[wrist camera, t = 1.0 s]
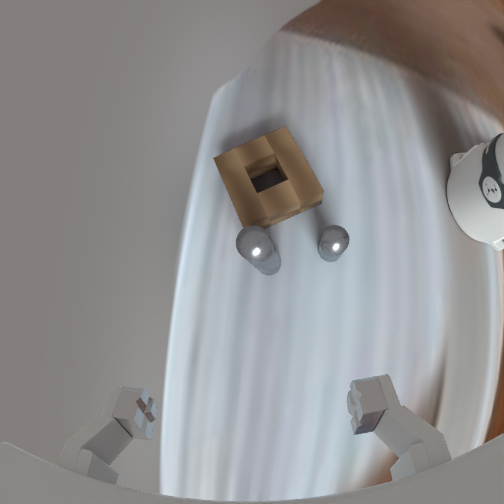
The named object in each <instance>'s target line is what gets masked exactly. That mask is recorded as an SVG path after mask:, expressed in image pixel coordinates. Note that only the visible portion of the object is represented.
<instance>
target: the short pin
mask: <svg viewBox="0 0 504 504" xmlns="http://www.w3.org/2000/svg"><path fill="white" fill-rule="evenodd" d="M348 244H349V235H348V233H347V231H346V230H345V229H344V228H342V227H340V226H337V225H333V226H329V227H328V228H326V229H325V230H324V232H323V234H322V237H321V241H320V245H319V254H320V256H321V258H322V259H323V260H325V261H328V262H333V261H336V260H337V259H339V258H340V256H341V255H342V253H343V252H344V251H345V249H346V248H347V246H348Z"/></svg>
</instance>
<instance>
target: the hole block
mask: <svg viewBox="0 0 504 504" xmlns="http://www.w3.org/2000/svg"><path fill="white" fill-rule="evenodd" d="M213 159H214V161H215V163H216V165H217V168H218V170H219V172H220V175H221V177H222V179H223V182H224V184H225V186H226V189H227V191H228V193H229V196H230V198H231V200H232V202H233V205H234V207H235V209H236V212H237V214H238V216H239V219H240V221H241V223H242V226H243V228H245V227H248V226H252V225H256V226H260V227H262V228H264V229H266V228H268V227H270V226H272V225H274V224H277V223H279V222H281V221H283V220H285V219H288V218H290V217H292V216H294V215H297V214H299V213H301V212H303V211H306V210H308V209H310V208H312V207H314V206H317V205H319V204H321V203H322V197H323V189H322V187H321V185H320V184H319V182H318V180H317V178H316V176H315V175H314V173H313V171H312V169H311V168H310V166H309V164H308V162H307V161H306V159H305V157H304V156H303V154H302V152H301V151H300V149H299V147H298V146H297V144H296V142H295V141H294V139H293V137H292V136H291V134H290V132H289V131H288V129H287V128H286V126H285V127H283V128H280V129H278V130H275V131H273V132H271V133H268V134H266V135H263V136H261V137H259V138H256V139H254V140H252V141H250V142H247V143H245V144H243V145H241V146H238V147H236V148H234V149H232V150H230V151H227V152H225V153H223V154H221V155H219V156H217V157H215V158H213ZM277 168H278V170H279V172H280V174H281V176H282V178H283V180H284V182H282V183H279V184H277V185H275V186H272V187H270V188H268V189H266V190H264V191H261V192H259V193H257V192H256V190H255V188H254V186H253V184H252V182H251V180H252V179H254V178H256V177H259V176H261V175H263V174H265V173H268V172H270V171H272V170H274V169H277Z"/></svg>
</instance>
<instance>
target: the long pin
mask: <svg viewBox="0 0 504 504" xmlns="http://www.w3.org/2000/svg"><path fill="white" fill-rule="evenodd" d="M236 247H237V250H238V252H239V253H240V254H241V255H242V256H243V257H244V258H245V259H246V260H247V261H249V262H250V263H251V264H252V265H253V266H254V267H256V268H257V269H258V270H259V271H260V272H262V273H263V274H266V275H272V274H274V273H276V272H277V271H278V270H279V268H280V266H281V260H280V257H279V255H278V253H277V251H276V249H275V247H274V245H273V242H272V240H271V238H270V236H269V234H268V232H267V231H266V230H265V229H264V228H262V227H260V226H256V225H252V226H248V227H245V228H244V229H242V230H241V231H240V233H239V234H238V236H237V239H236Z"/></svg>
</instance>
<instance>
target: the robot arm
mask: <svg viewBox="0 0 504 504" xmlns="http://www.w3.org/2000/svg"><path fill="white" fill-rule="evenodd" d="M450 167H451V173H450V176H449V179H448V183H447V198H448V203H449V206H450V209H451V212H452V214H453V216H454V218H455V220H456V222H457V223H458V225H459V226H460V227H461V229H462V230H463V231H464V232H465V233H466V234H467V235H469V236H470V237H471V238H473V239H475V240H477V241H480V242H484V243H487V244H489V245H490V246H491V247H493V248H494V249H495V250H497V251H501V250H503V249H504V133H501V134H499V135H497V136H496V137H495V138H493V139H492V140H491V141H489V142H487V143H486V145H485V143H480V144H479V145H475V146H474V147H473V148H472V149H471V150H470V151H468V152H464V153H456V154H453V155H452V156H451V157H450ZM502 239H503V241H502ZM350 388H351V390H350V391H349V392H348V395H347V406H348V411H349V413H350V414H351V415H352V416H353V417H352V420H351V424H352V429H353V433H354V435H356V434H362V433H367V432H373V431H374V433H375V434H376V435H377V436H378V437H379V438H380V439H381V440H382V441H383V442H384V443H385V444H386V445H387V446H388V447H389V448H390V449H391V450H392V451H393V452H394V453H395V454H396V455H397V456H398V457H399V458H400V459H399V460H398V461H397V462H396V463H395V464H394V465H393V466H392V467H391V469H390V470H391V475H392V479H393V481H391V482H387V483H384V484H380V485H376V486H372V487H368V488H364V489H359V490H355V491H350V492H345V493H339V494H333V495H327V496H320V497H313V498H304V499H294V500H281V501H258V502H236V501H213V500H200V499H190V498H181V497H174V496H167V495H161V494H155V493H149V492H144V491H140V490H134V489H131V488H126V487H122V486H118V485H116V482H117V478H118V473H117V471H115V470H114V469H113V468H111V467H110V466H109V465H110V464H111V463H112V462H113V461H114V460H115V459H116V457H117V456H118V455H119V454H120V453H121V452H122V451H123V450H124V449H125V448H126V446H128V444H129V443H130V442H131V441H132V440H133V438H136V439H144V440H151V436H152V432H153V426H152V424H151V423H152V422H153V421H154V420H155V419H156V415H157V407H156V403H155V401H154V399H152V398H150V397H149V395H150V393H149V391H148V390H147V389H140V388H131V387H123V386H114V387H113V388H112V389H111V392H110V394H109V397H108V399H107V402H106V405H105V407H104V410H103V413H102V415H98V416H97V417H96V418H95V419H94V420H92V421H91V422H90V423H89V424H88V425H86V426H85V427H84V428H83V429H81V430H80V431H79V432H78V433H76V434H75V435H74V436H73V437H71V438H70V439H69V440H68V441H66V442H65V445H64V448H63V450H62V453H61V456H60V459H59V462H58V464H57V465H55V464H52V463H50V462H47V461H45V460H43V459H41V458H38V457H36V456H34V455H32V454H30V453H27V452H25V451H24V450H22V449H20V448H18V447H16V446H14V445H12V444H10V443H7V442H2V443H0V504H504V433H503V434H501V435H499V436H498V437H496V438H494V439H492V440H490V441H489V442H487V443H485V444H483V445H481V446H479V447H477V448H475V449H473V450H471V451H469V452H467V453H465V454H463V455H461V456H459V457H456V458H454V459H451V456H450V453H449V450H448V447H447V444H446V442H445V439H444V436H443V434H442V433H441V432H439V431H438V430H437V429H435V428H434V427H432V426H431V425H430V424H428V423H427V422H426V421H424V420H423V419H422V418H420V417H419V416H417V415H416V414H415V413H413V412H412V411H411V410H409V409H408V408H407V407H405V406H401V405H400V402H399V400H398V397H397V394H396V392H395V389H394V386H393V384H392V381H391V378H390V376H389V375H388V374H385V375H381V376H376V377H375V376H374V377H369V378H364V379H359V380H354V381H352V382H351V384H350Z"/></svg>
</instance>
